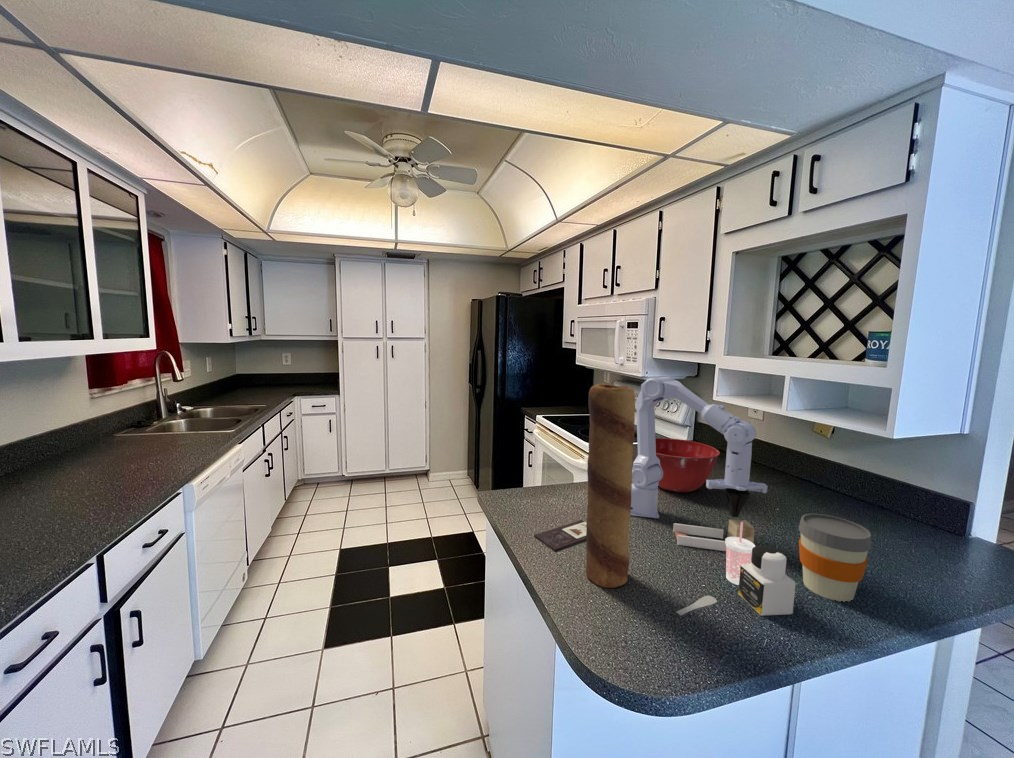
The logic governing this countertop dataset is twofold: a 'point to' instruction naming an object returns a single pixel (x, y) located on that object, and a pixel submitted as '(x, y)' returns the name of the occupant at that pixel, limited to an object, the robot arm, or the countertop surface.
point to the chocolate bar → (564, 535)
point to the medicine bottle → (767, 582)
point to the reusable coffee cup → (833, 555)
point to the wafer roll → (609, 483)
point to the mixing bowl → (684, 463)
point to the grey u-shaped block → (685, 540)
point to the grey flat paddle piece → (698, 604)
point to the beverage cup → (737, 555)
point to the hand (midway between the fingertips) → (733, 515)
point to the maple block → (735, 529)
